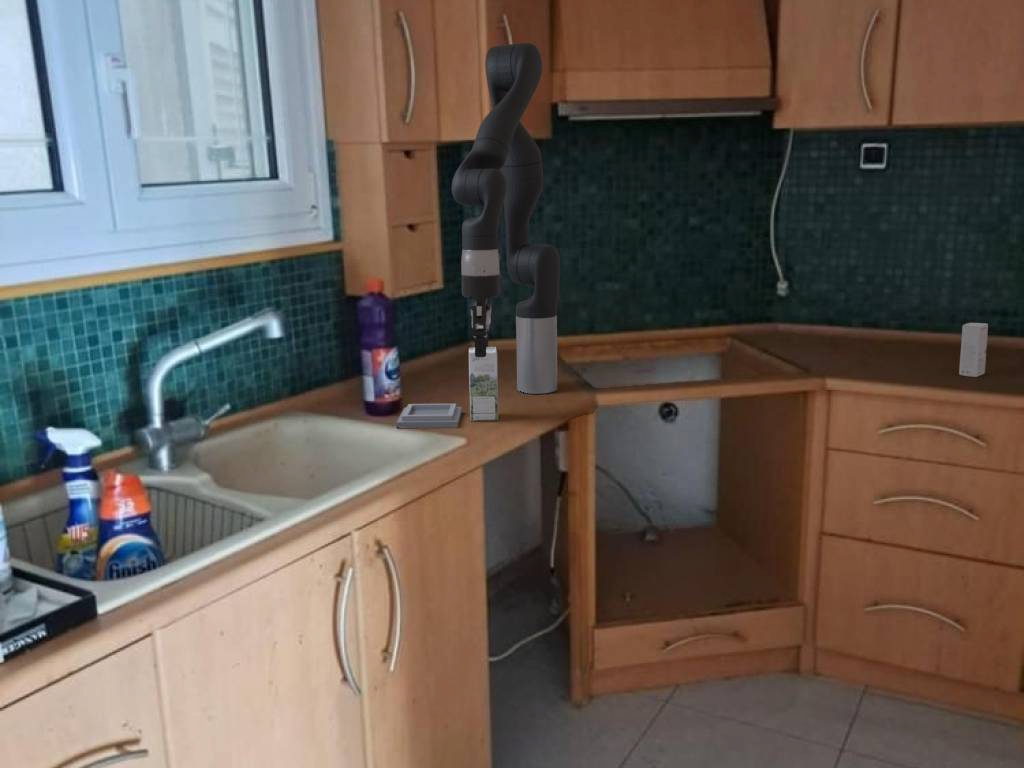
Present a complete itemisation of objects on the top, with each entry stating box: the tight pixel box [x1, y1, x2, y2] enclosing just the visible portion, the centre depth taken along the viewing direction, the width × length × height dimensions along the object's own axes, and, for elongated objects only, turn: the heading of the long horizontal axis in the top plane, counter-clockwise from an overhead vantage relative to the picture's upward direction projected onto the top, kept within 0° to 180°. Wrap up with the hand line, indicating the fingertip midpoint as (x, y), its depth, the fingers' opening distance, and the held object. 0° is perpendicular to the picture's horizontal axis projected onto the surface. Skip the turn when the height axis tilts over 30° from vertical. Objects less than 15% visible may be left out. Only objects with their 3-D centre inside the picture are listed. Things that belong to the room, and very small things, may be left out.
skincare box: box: [958, 322, 989, 378], centre depth 222 cm, size 6×4×12 cm
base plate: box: [395, 402, 463, 429], centre depth 190 cm, size 12×12×2 cm
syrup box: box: [468, 346, 499, 422], centre depth 189 cm, size 6×6×14 cm
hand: (481, 353), depth 188 cm, fingers open, 8 cm apart
